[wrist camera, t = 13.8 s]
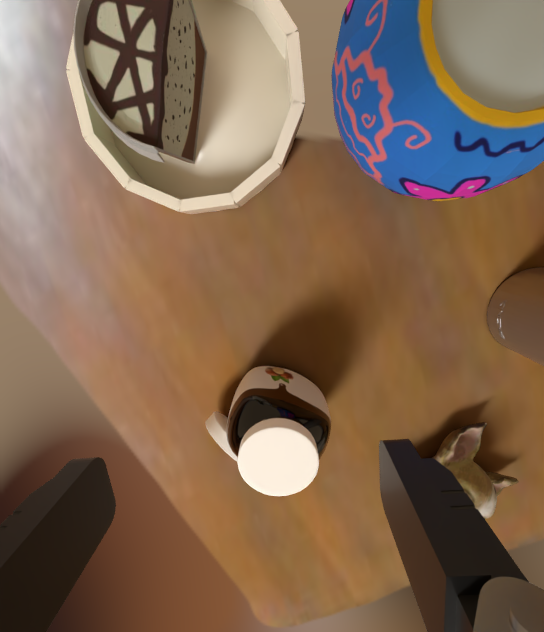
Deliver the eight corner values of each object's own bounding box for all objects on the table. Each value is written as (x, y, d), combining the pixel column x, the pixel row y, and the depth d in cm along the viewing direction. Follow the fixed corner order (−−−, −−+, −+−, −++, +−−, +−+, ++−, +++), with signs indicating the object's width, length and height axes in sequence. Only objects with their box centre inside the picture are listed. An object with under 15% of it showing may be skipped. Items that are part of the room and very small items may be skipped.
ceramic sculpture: (387, 526, 31) (526, 451, 30) (360, 466, 40) (467, 405, 38) (434, 594, 33) (565, 527, 32) (399, 523, 42) (501, 467, 40)
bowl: (286, -34, 27) (288, -84, 23) (309, 198, 32) (313, 192, 28) (75, 4, 28) (39, -37, 24) (127, 224, 33) (104, 222, 29)
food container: (140, 18, 28) (65, -98, 18) (209, 32, 28) (172, -75, 18) (130, 168, 31) (62, 138, 21) (192, 180, 31) (153, 156, 21)
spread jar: (330, 380, 37) (352, 444, 26) (295, 457, 40) (301, 545, 28) (233, 346, 36) (212, 396, 25) (204, 426, 39) (173, 505, 28)
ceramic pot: (531, 157, 30) (759, 88, 16) (358, 237, 33) (421, 241, 18) (480, -47, 27) (722, -383, 12) (288, 59, 29) (298, -117, 14)
